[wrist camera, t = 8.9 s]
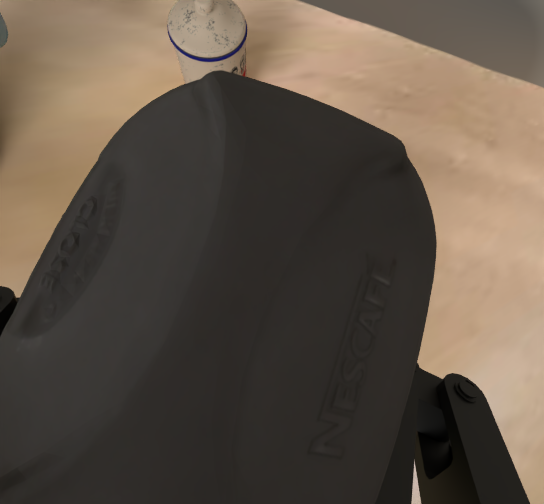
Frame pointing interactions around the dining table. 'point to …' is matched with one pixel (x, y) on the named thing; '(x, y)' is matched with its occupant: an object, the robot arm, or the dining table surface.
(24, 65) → the dining table surface
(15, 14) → the dining table surface
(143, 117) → the coffee jar
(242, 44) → the teacup with lid
